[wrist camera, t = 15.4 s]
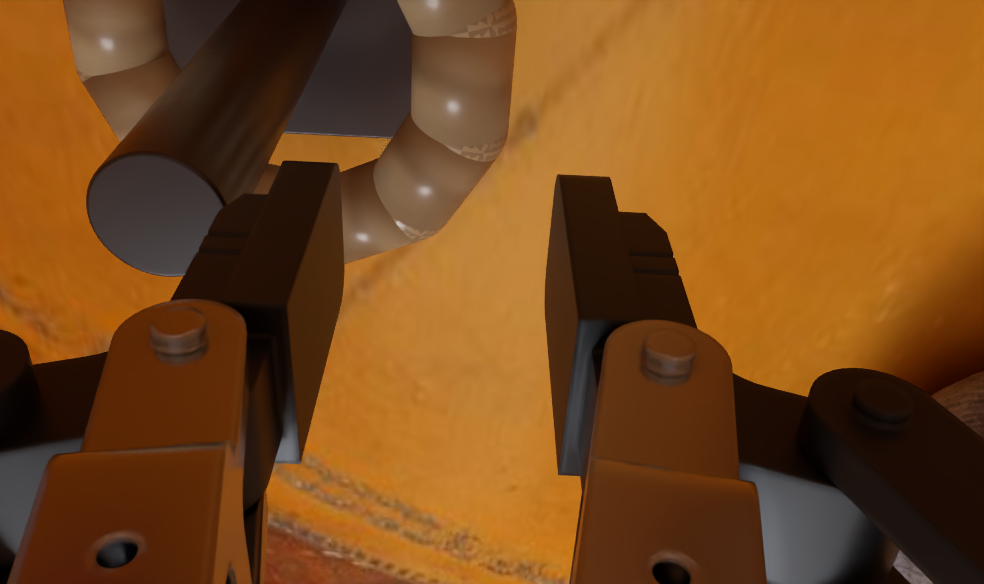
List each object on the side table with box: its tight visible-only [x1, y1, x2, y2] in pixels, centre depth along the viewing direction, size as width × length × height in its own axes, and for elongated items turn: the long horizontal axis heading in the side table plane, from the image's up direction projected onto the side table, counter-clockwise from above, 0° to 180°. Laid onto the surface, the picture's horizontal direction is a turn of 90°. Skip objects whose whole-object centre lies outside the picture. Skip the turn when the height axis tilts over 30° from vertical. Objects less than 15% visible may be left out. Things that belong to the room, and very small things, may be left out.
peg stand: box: [86, 0, 412, 277], centre depth 18 cm, size 8×8×13 cm
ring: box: [63, 0, 517, 264], centre depth 19 cm, size 10×10×2 cm
